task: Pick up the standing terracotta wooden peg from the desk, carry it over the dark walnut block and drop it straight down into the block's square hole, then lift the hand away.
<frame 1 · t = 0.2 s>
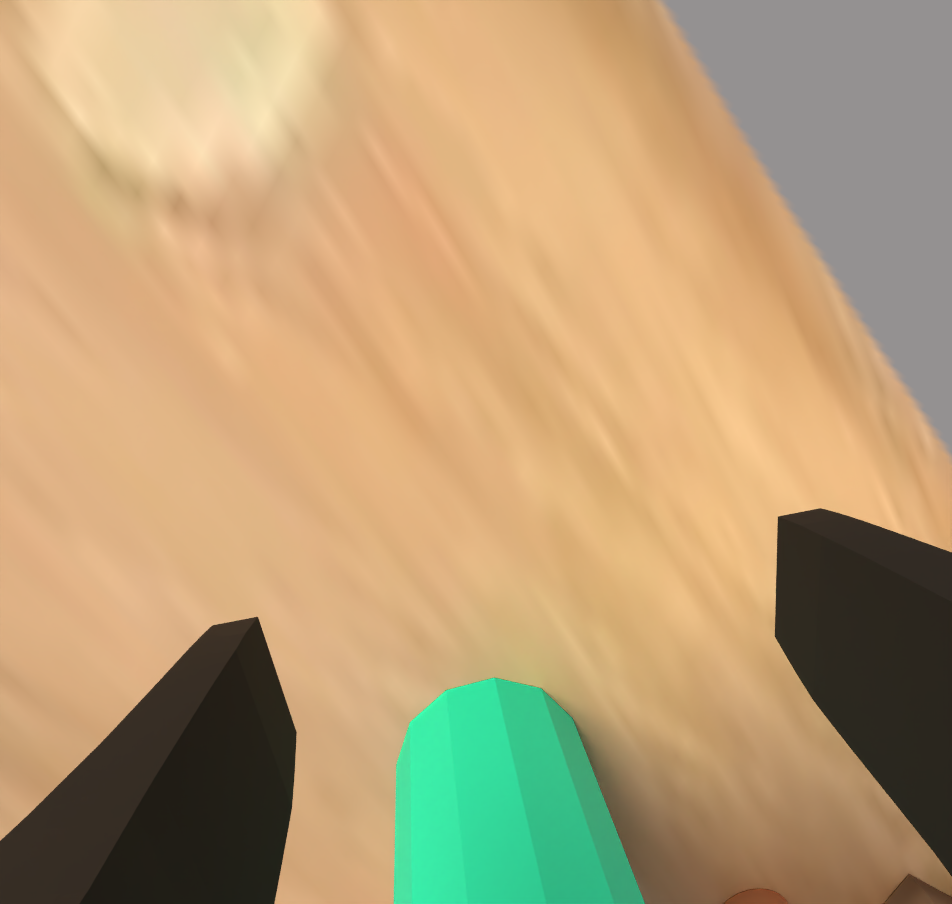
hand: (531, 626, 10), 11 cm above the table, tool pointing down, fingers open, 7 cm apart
candle: (489, 757, 22), on the table
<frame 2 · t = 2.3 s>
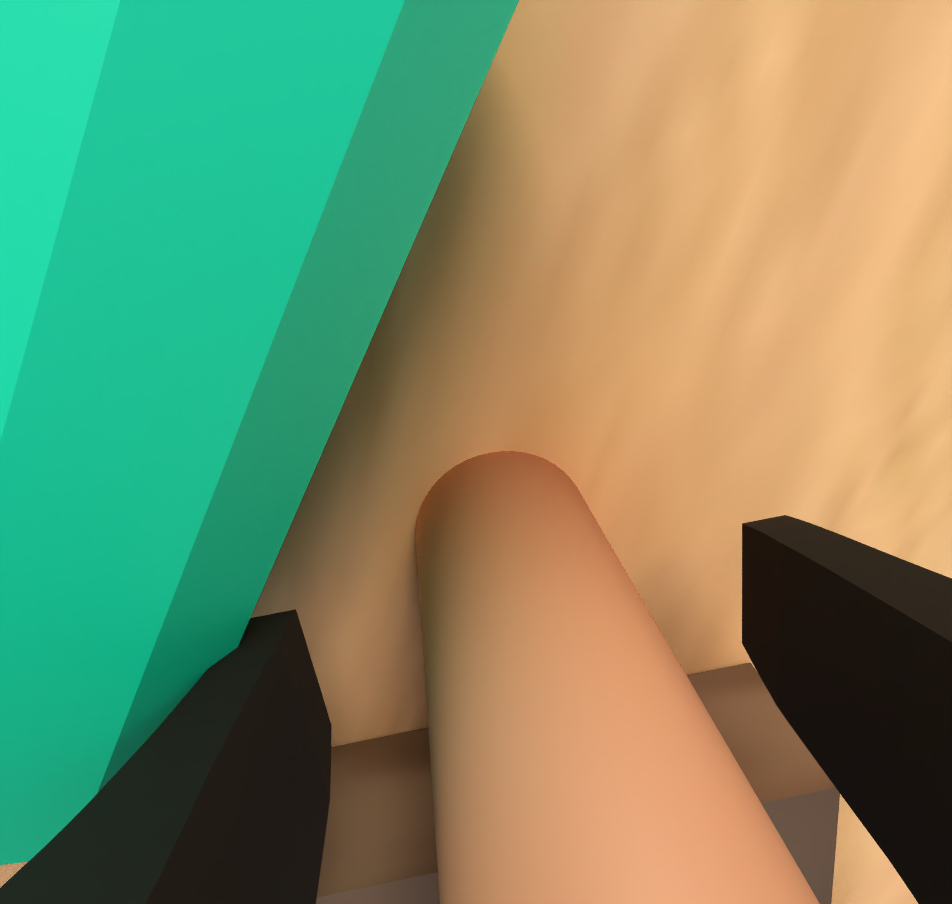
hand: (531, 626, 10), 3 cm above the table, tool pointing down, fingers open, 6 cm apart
peg: (502, 531, 12), on the table
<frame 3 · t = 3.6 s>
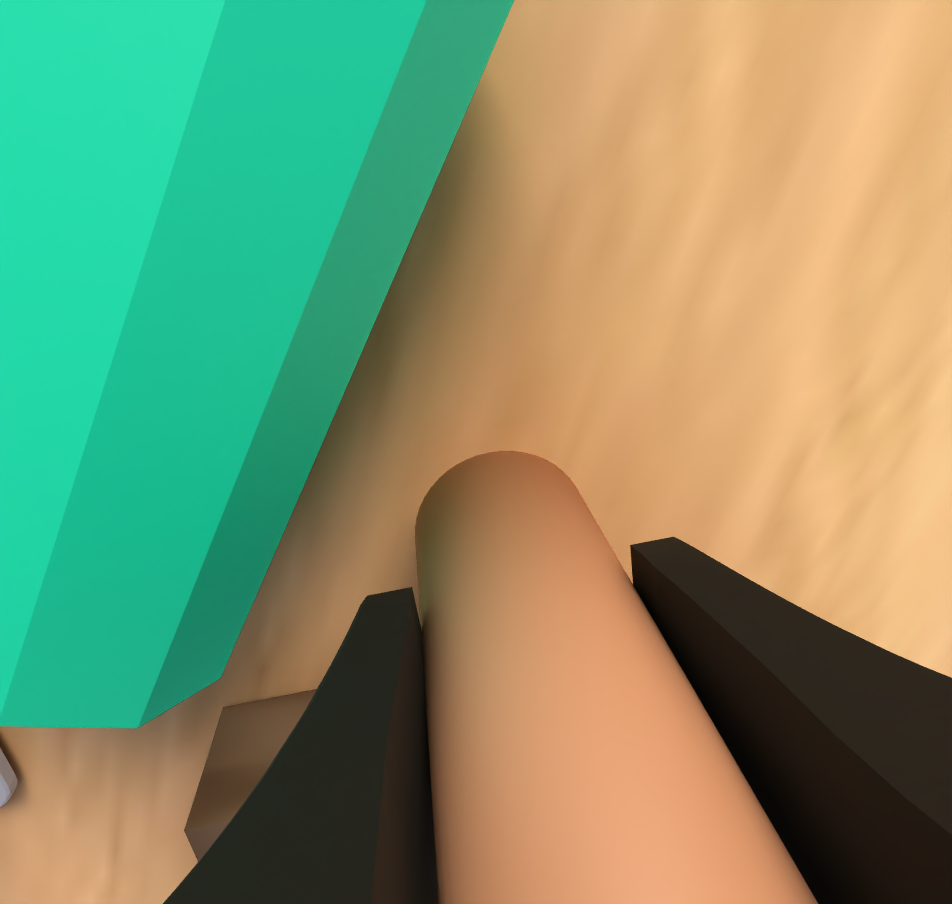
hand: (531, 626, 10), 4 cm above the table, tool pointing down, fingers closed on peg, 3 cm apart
peg: (501, 530, 12), point 2 cm above the table, touching gripper
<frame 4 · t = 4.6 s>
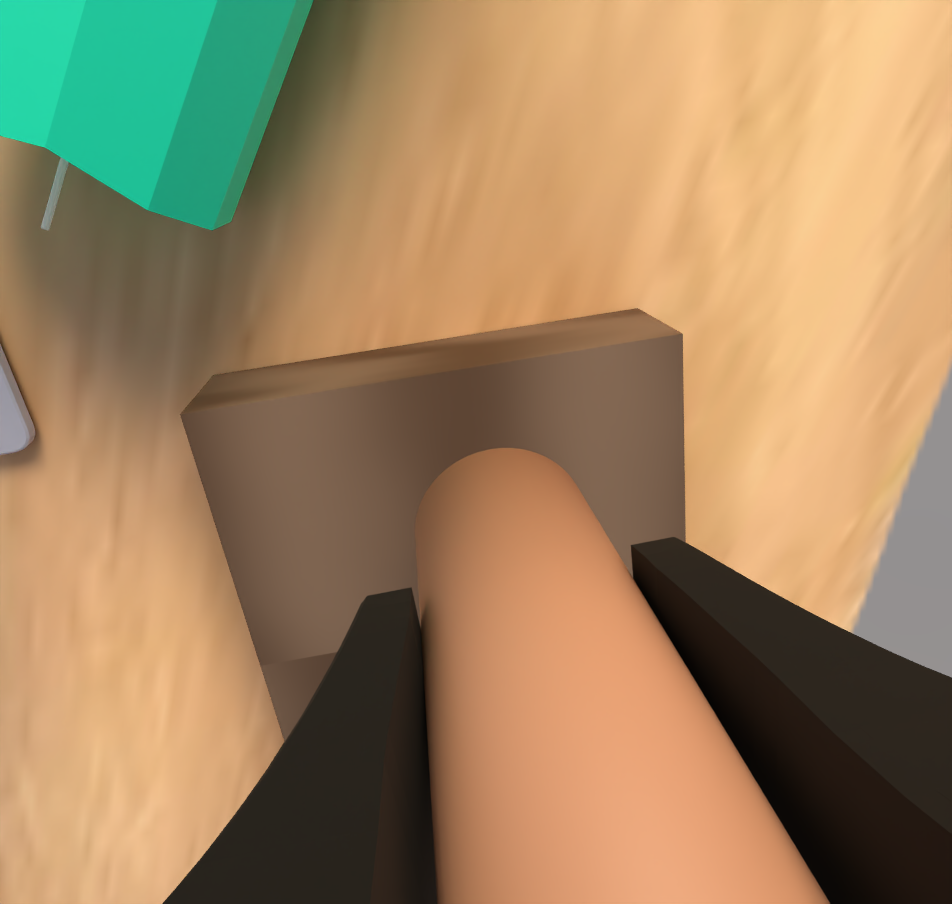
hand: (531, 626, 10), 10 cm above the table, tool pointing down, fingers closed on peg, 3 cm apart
hole block: (475, 626, 21), on the table
peg: (501, 528, 12), point 7 cm above the table, touching gripper
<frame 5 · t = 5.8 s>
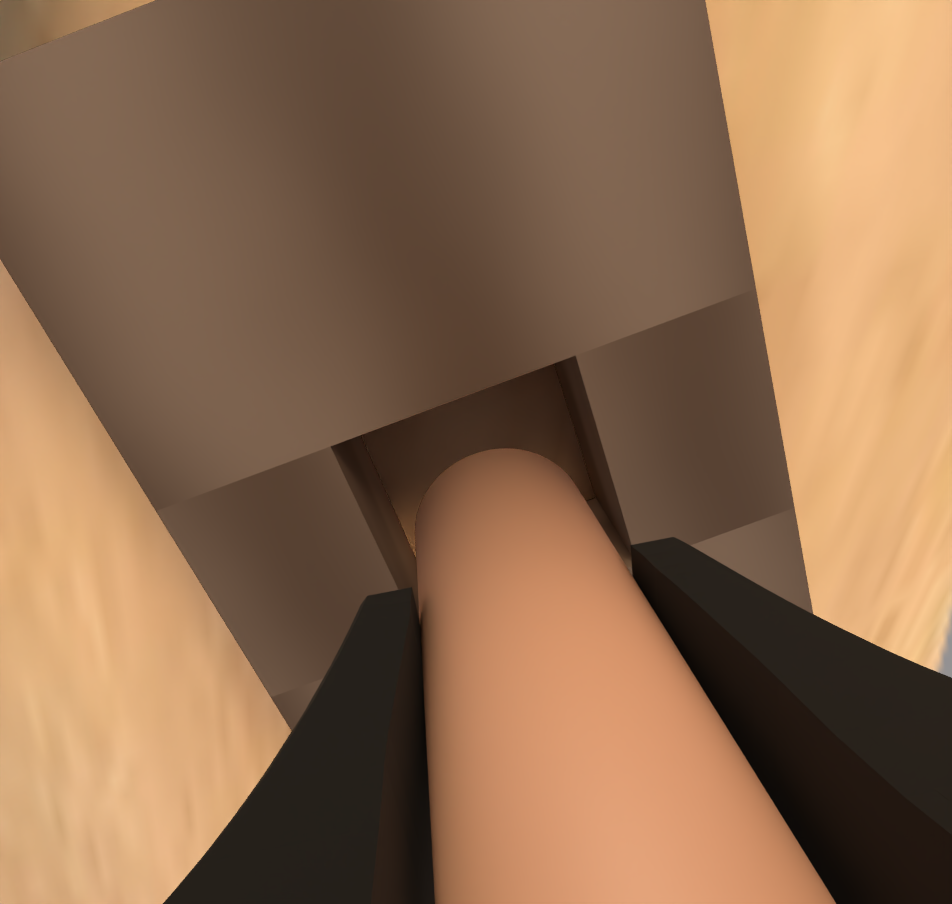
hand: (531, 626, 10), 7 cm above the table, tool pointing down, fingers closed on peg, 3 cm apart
hole block: (475, 448, 16), on the table
peg: (501, 529, 12), point 4 cm above the table, touching gripper
when the fingers open (4 cm above the table, at t = 6.6 s): peg drops 2 cm, resting in hole block.
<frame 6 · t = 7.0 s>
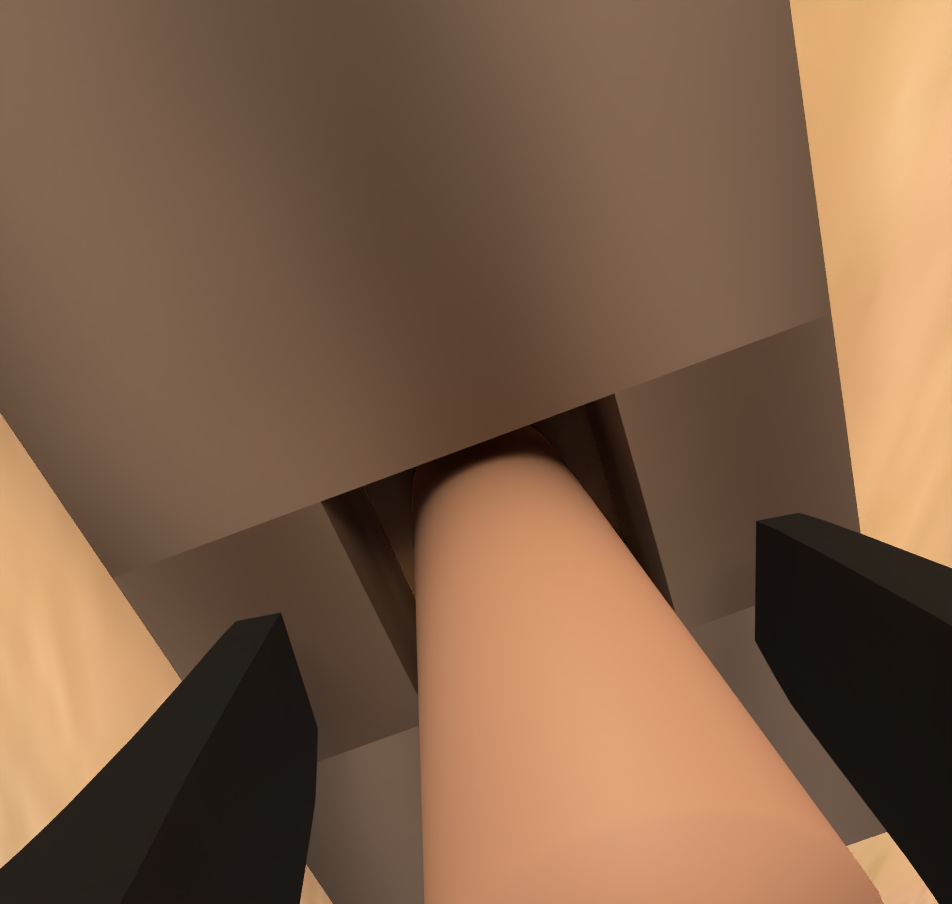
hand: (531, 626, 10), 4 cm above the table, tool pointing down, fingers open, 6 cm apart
hole block: (489, 489, 14), on the table
peg: (489, 491, 13), resting in hole block, tilted 6°
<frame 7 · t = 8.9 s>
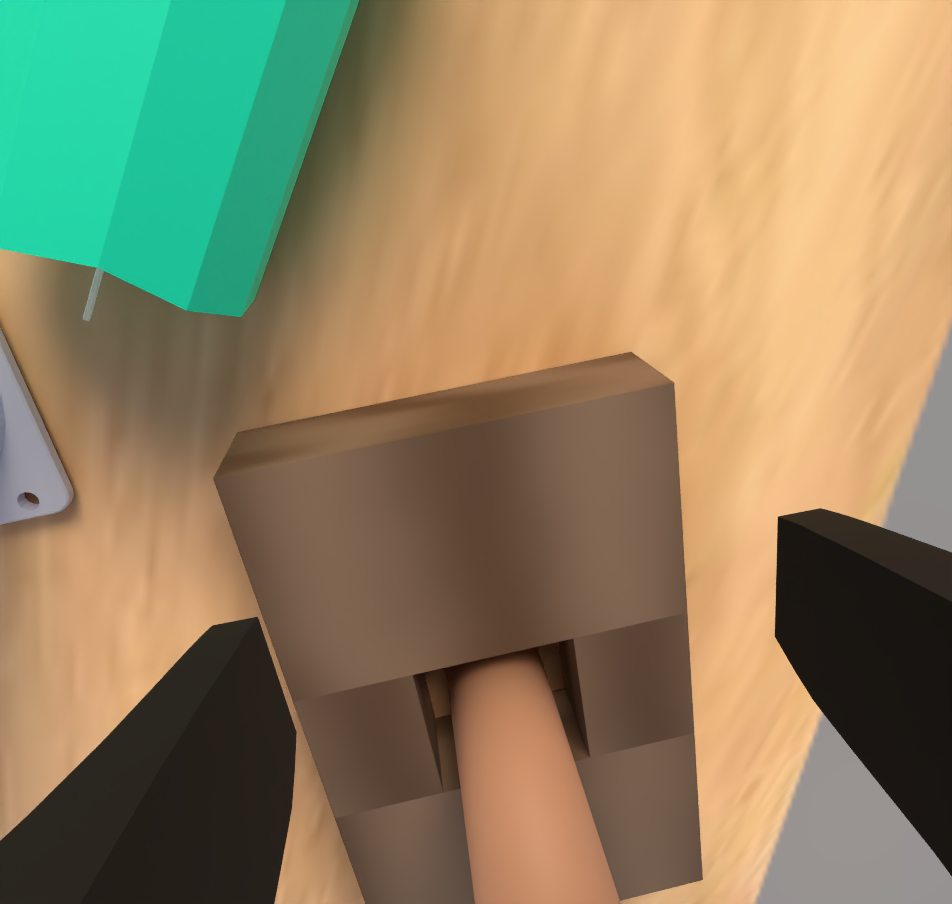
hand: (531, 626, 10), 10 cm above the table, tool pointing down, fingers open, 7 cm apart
hole block: (490, 651, 22), on the table
peg: (489, 650, 22), resting in hole block
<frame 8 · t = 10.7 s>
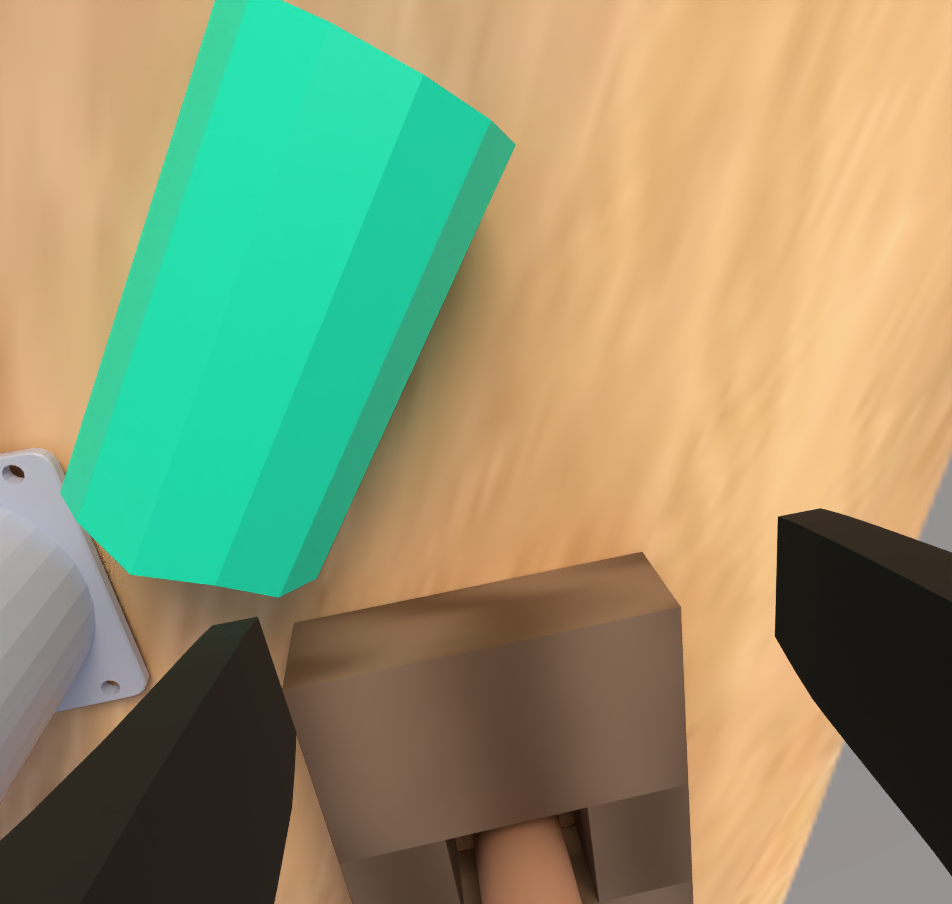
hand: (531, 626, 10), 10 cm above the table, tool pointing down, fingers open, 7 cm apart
candle: (381, 63, 13), point 3 cm above the table
hole block: (509, 795, 25), on the table
peg: (509, 794, 25), resting in hole block
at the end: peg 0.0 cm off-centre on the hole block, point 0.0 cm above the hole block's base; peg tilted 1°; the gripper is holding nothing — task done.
